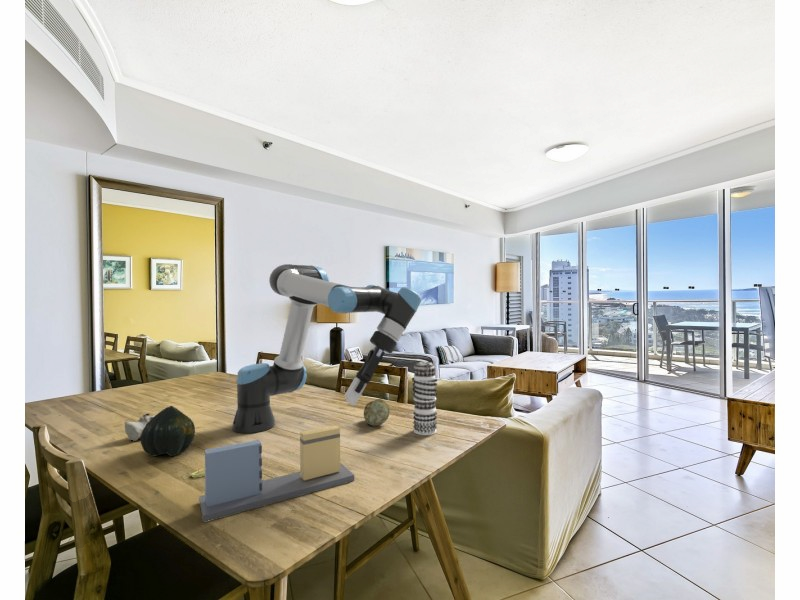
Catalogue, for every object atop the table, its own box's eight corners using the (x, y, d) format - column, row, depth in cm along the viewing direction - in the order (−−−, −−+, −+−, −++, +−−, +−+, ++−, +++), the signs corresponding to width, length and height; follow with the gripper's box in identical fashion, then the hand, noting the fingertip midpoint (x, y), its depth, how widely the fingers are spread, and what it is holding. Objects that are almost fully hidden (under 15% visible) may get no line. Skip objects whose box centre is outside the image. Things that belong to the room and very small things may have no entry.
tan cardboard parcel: (303, 480, 99) (303, 435, 100) (300, 476, 102) (299, 431, 102) (340, 471, 105) (339, 428, 105) (336, 467, 107) (335, 424, 107)
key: (226, 483, 103) (226, 475, 103) (186, 479, 106) (186, 471, 106) (243, 471, 110) (243, 464, 110) (205, 468, 113) (205, 461, 113)
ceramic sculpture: (119, 414, 136) (165, 407, 148) (117, 439, 136) (164, 430, 148) (130, 420, 130) (178, 412, 142) (129, 446, 129) (176, 436, 141)
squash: (156, 449, 112) (184, 402, 122) (121, 445, 117) (150, 400, 127) (189, 467, 122) (213, 422, 131) (155, 462, 127) (180, 419, 137)
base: (203, 522, 84) (203, 515, 84) (199, 502, 93) (199, 496, 93) (354, 480, 103) (354, 474, 103) (339, 467, 112) (339, 461, 112)
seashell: (391, 419, 156) (391, 394, 156) (388, 428, 145) (387, 402, 145) (365, 419, 157) (365, 394, 157) (360, 428, 146) (359, 401, 146)
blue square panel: (206, 507, 88) (206, 454, 88) (205, 501, 90) (204, 449, 90) (262, 492, 94) (261, 443, 94) (259, 487, 97) (258, 439, 97)
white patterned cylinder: (430, 437, 135) (429, 365, 135) (407, 432, 140) (407, 363, 140) (442, 429, 143) (441, 362, 143) (420, 425, 148) (419, 360, 148)
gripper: (405, 340, 102) (363, 413, 98) (391, 344, 127) (357, 402, 122) (381, 325, 102) (338, 397, 97) (371, 332, 126) (336, 390, 121)
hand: (348, 400), depth 110 cm, fingers open, 13 cm apart
